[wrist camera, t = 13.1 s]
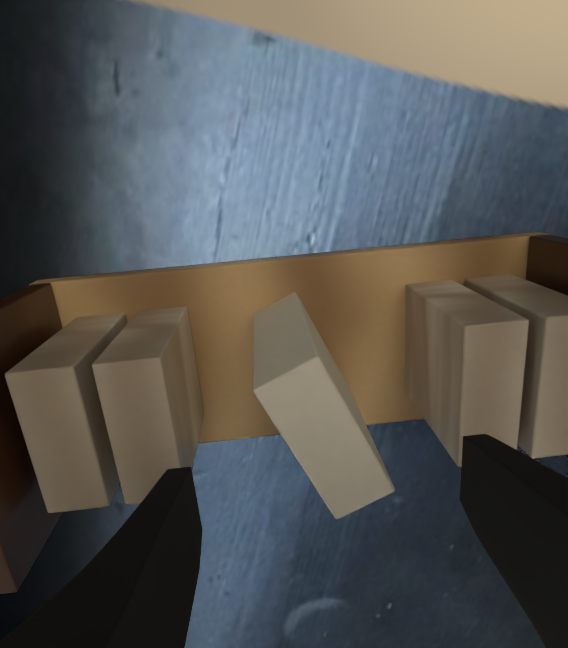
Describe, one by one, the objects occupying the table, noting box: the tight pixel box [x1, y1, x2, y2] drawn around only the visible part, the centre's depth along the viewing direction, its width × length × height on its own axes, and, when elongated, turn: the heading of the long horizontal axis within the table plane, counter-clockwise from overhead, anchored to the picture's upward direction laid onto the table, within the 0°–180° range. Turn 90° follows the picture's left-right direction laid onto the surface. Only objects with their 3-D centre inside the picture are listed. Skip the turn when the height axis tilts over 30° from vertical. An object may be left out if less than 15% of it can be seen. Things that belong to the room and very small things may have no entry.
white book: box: [253, 292, 395, 519], centre depth 16 cm, size 2×5×7 cm, turn 29°
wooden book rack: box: [0, 232, 568, 594], centre depth 16 cm, size 21×8×8 cm, turn 95°
